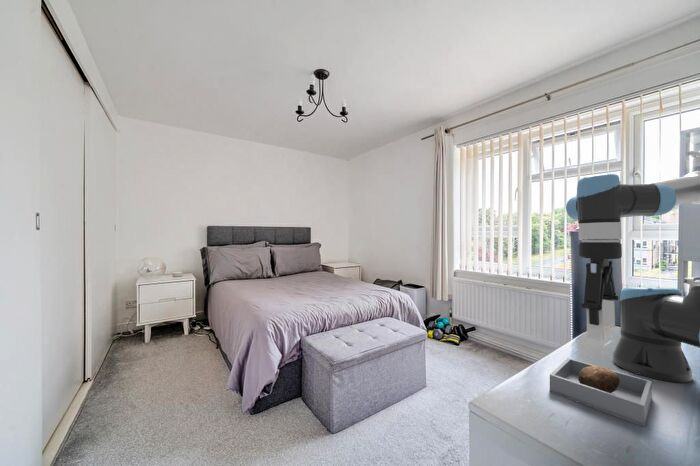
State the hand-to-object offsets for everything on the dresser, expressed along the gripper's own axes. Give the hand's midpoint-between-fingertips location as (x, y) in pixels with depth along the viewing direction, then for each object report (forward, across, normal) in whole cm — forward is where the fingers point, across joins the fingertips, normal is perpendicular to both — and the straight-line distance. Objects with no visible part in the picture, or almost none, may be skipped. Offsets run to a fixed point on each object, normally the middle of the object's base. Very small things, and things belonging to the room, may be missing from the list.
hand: (601, 332), depth 64 cm
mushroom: (+14, +1, -1) cm, 14 cm away
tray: (+14, +1, -1) cm, 15 cm away
